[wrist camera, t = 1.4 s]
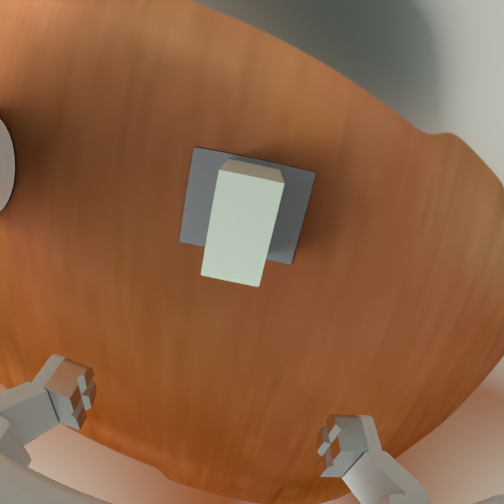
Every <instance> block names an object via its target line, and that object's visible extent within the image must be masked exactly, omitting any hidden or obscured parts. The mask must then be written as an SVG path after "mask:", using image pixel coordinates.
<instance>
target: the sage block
mask: <svg viewBox="0 0 504 504" xmlns="http://www.w3.org/2000/svg"><path fill="white" fill-rule="evenodd" d="M284 184H285V183H284V180H283V178H282V175H281V172H280V170H279V169H275V168H271V167H266V166H261V165H257V164H252V163H247V162H242V161H237V160H232V159H228V160H227V161H226V162H225V163H224V165H223V166H222V167H221V168H220V169H219V172H218V178H217V183H216V188H215V194H214V199H213V205H212V210H211V216H210V222H209V227H208V233H207V239H206V245H205V251H204V257H203V264H202V270H201V275H202V276H207V277H212V278H217V279H221V280H226V281H231V282H236V283H241V284H246V285H251V286H256V287H259V284H260V280H261V276H262V272H263V269H264V265H265V261H266V257H267V253H268V249H269V245H270V241H271V237H272V233H273V229H274V225H275V221H276V217H277V213H278V208H279V204H280V200H281V196H282V192H283V188H284Z"/></svg>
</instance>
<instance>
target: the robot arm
mask: <svg viewBox="0 0 504 504" xmlns="http://www.w3.org/2000/svg"><path fill="white" fill-rule="evenodd" d="M14 176H15V157H14V150H13V145H12V141H11V138H10V135H9V132H8V130H7V128H6V126H5V124H4V123H3V122H2V120H1V119H0V211H1V210H2V209H3V208H4V207H5V205H6V204H7V202H8V200H9V198H10V195H11V192H12V188H13V184H14ZM93 376H94V373H93V368H91V367H88V366H85V365H83V364H80V363H78V362H75V361H72V360H70V359H67V358H65V357H62V356H60V355H57V354H53V355H51V356H50V358H49V359H48V360H47V362H46V363H45V365H44V366H43V367H42V369H41V370H40V371H39V373H38V374H37V376H36V377H35V378H34V380H33V381H32V383H30V382H26V383H23V384H21V385H19V386H16V387H14V388H11V389H9V390H7V391H4V392H2V393H0V504H112V503H109V502H106V501H103V500H100V499H97V498H95V497H92V496H90V495H87V494H84V493H82V492H80V491H77V490H75V489H72V488H70V487H68V486H65V485H63V484H61V483H59V482H57V481H54V480H52V479H50V478H48V477H46V476H44V475H42V474H40V473H38V472H36V471H34V470H32V469H30V468H28V466H29V464H30V462H31V458H30V456H29V454H28V453H27V451H26V449H25V448H24V446H25V445H26V444H28V443H29V442H31V441H32V440H34V439H36V438H37V437H39V436H40V435H42V434H44V433H45V432H47V431H48V430H50V429H51V428H53V427H55V426H56V425H58V424H59V422H60V423H62V424H65V425H67V426H70V427H73V428H75V429H78V430H80V429H81V427H82V425H83V423H84V421H85V419H86V417H87V416H86V412H85V410H87V409H89V408H91V407H92V405H93V403H94V400H95V396H96V384H95V382H94V381H93V380H92V377H93ZM326 423H327V425H326V426H324V427H322V428H321V430H320V432H319V433H318V437H317V452H318V453H319V454H320V455H321V456H322V457H321V458H320V460H319V461H318V464H319V472H320V477H342V479H343V480H344V482H345V483H346V484H347V486H348V487H349V488H350V490H351V491H352V492H353V493H354V495H355V496H356V497H357V499H358V500H359V501H360V503H361V504H430V502H429V498H428V495H427V491H426V488H425V487H424V486H422V484H420V483H419V482H418V481H417V480H416V479H415V478H414V477H413V476H412V475H411V474H410V473H408V472H407V471H406V470H405V469H404V468H403V467H402V466H401V465H400V464H399V463H398V462H397V461H396V460H395V459H393V458H392V457H391V456H390V455H389V454H388V453H387V452H386V451H382V448H381V445H380V441H379V438H378V434H377V431H376V427H375V424H374V420H373V418H372V417H371V416H357V415H337V414H331V415H330V416H329V417H328V418H327V420H326ZM474 504H504V494H498V495H495V496H492V497H490V498H488V499H485V500H482V501H479V502H477V503H474Z"/></svg>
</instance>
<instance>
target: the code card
mask: <svg viewBox="0 0 504 504" xmlns="http://www.w3.org/2000/svg"><path fill="white" fill-rule="evenodd" d="M228 159H232V160H237V161H242V162H247V163H252V164H257V165H261V166H266V167H271V168H275V169H279V170H280V172H281V175H282V178H283V180H284V183H285V184H284V188H283V192H282V196H281V200H280V204H279V208H278V213H277V217H276V221H275V225H274V229H273V233H272V237H271V241H270V245H269V249H268V253H267V257H266V260H270V261H275V262H280V263H285V264H290V265H291V263H292V259H293V256H294V252H295V249H296V245H297V242H298V238H299V234H300V231H301V227H302V224H303V220H304V216H305V213H306V209H307V205H308V201H309V198H310V194H311V190H312V186H313V183H314V179H315V175H316V173H315V172H311V171H307V170H303V169H299V168H294V167H290V166H286V165H282V164H277V163H273V162H268V161H264V160H259V159H254V158H250V157H245V156H240V155H235V154H230V153H224V152H219V151H214V150H208V149H203V148H197V147H194V150H193V156H192V162H191V167H190V173H189V179H188V186H187V192H186V198H185V205H184V212H183V219H182V226H181V233H180V241H179V242H183V243H188V244H193V245H198V246H202V247H205V245H206V239H207V233H208V227H209V222H210V216H211V210H212V205H213V199H214V194H215V188H216V183H217V178H218V172H219V169H220V168H221V167H222V166H223V165H224V163H225V162H226V161H227V160H228Z"/></svg>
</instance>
